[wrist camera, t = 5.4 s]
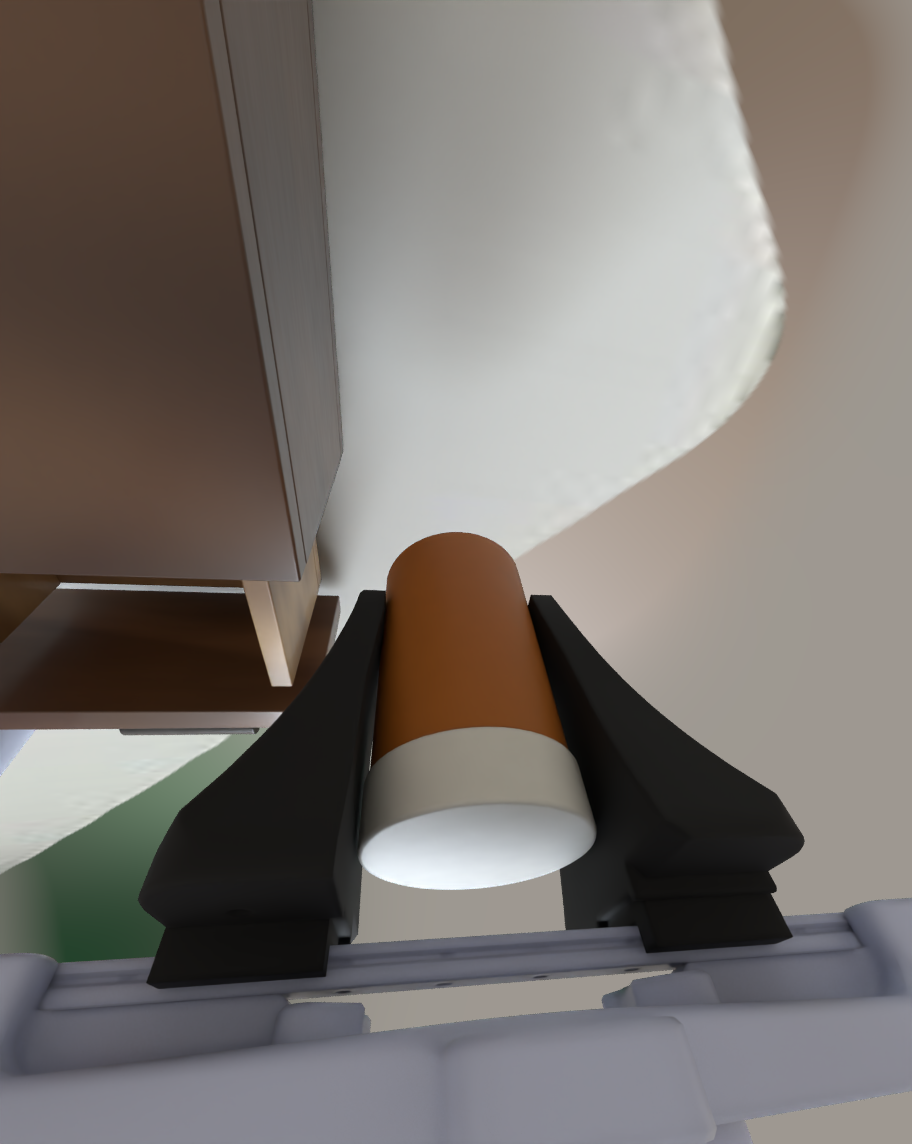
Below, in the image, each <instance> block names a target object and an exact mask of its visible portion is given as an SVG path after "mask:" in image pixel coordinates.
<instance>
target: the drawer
mask: <svg viewBox="0 0 912 1144" xmlns="http://www.w3.org/2000/svg"><path fill="white" fill-rule="evenodd" d="M320 582H321V573H320V566H319V558H318V550H317V542H316V537H315V540H314V543H313V546H312V549H311V553H310V556H309V559H308V562H307V564H306V566H305V569H304V572H303V575H302V579H301V581H299V582H283V581H249V580H216V579H182V578H148V577H114V576H81V575H47V574H13V573H0V730H31V729H119V730H120V732H121V734H123V735H199V734H256V733H257V732H258V731H259V728H260V727H261V728H263V727H264V728H265V727H270V726H271V725H272V724H273V723H274V722H275V721H276V720H277V718H278V717H279V716H280V715H281V714H282V713H283V712H284V710H285V709H286V708H287V707H288V706H289V705H290V704H291V702H292V701H293V700H294V699H295V698H296V696H297V695H298V694H299V693H300V691H301V690H302V689H303V688H304V686H305V685H306V684H307V682H308V681H309V680H310V678H311V677H312V676H313V674H314V673H315V672H316V670H317V669H318V667H319V666H320V664H321V663H322V661H323V660H324V658H325V657H326V656H327V654H328V653H329V651H330V650H331V648H332V646H333V645H334V642H335V637H336V632H337V627H338V622H339V617H340V602H339V596H321V595H317V594H318V589H319V586H320ZM60 583H95V584H131V585H167V586H203V587H239V588H244V592H245V593H207V592H169V591H131V590H93V589H56V588H57V587H58V586H59V585H60Z"/></svg>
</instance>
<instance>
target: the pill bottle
mask: <svg viewBox="0 0 912 1144" xmlns="http://www.w3.org/2000/svg"><path fill="white" fill-rule="evenodd" d="M596 833H597V831H596V824H595V820H594V817H593V814H592V810H591V807H590V803H589V800H588V797H587V793H586V790H585V786H584V783H583V780H582V776H581V773H580V769H579V766H578V763H577V761H576V759H575V758H574V756H573V755H572V754H571V752H570V751H569V749H568V746H567V742H566V739H565V735H564V732H563V728H562V725H561V721H560V718H559V714H558V711H557V707H556V704H555V700H554V697H553V693H552V690H551V686H550V682H549V679H548V675H547V672H546V668H545V665H544V661H543V658H542V654H541V651H540V647H539V644H538V640H537V637H536V633H535V630H534V626H533V623H532V619H531V616H530V612H529V609H528V605H527V601H526V598H525V595H524V591H523V587H522V584H521V580H520V577H519V574H518V570H517V567H516V564H515V562H514V561H513V559H512V557H511V556H510V555H509V554H508V552H507V551H506V550H505V549H503V548H502V547H501V546H500V545H498V544H497V543H495V542H494V541H492V540H490V539H488V538H485V537H482V536H479V535H476V534H471V533H463V532H449V533H441V534H437V535H432V536H429V537H427V538H424V539H422V540H420V541H418V542H415V543H414V544H412V545H411V546H409V547H408V548H407V549H406V550H404V551H403V552H402V553H401V554H400V555H399V556H398V558H397V559H396V560H395V562H394V563H393V565H392V566H391V569H390V571H389V574H388V578H387V587H386V608H385V620H384V631H383V638H382V645H381V655H380V666H379V677H378V688H377V700H376V711H375V722H374V733H373V744H372V756H371V767H370V771H369V772H368V774H367V776H366V779H365V781H364V787H363V797H362V807H361V817H360V828H359V838H358V848H357V854H358V858H359V861H360V863H361V865H362V866H363V867H364V868H365V869H366V870H367V871H368V872H370V873H371V874H373V875H374V876H376V877H378V878H381V879H383V880H386V881H389V882H392V883H396V884H400V885H404V886H409V887H416V888H425V889H441V890H442V889H443V890H455V889H456V890H458V889H476V888H485V887H494V886H501V885H506V884H512V883H517V882H521V881H525V880H529V879H533V878H536V877H539V876H542V875H545V874H548V873H551V872H553V871H555V870H558V869H561V868H563V867H565V866H567V865H569V864H570V863H572V862H574V861H575V860H577V859H579V858H580V857H581V856H583V855H584V854H585V853H586V852H587V851H588V850H589V849H590V848H591V847H592V845H593V844H594V842H595V839H596Z"/></svg>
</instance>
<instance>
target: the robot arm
mask: <svg viewBox="0 0 912 1144" xmlns="http://www.w3.org/2000/svg"><path fill="white" fill-rule="evenodd" d="M385 608H386V591H379V590H363V591H362V592H361V593H360V594H359V597H358V600H357V602H356V604H355V607H354V609H353V611H352V613H351V615H350V617H349V619H348V621H347V622H346V624H345V626H344V628H343V630H342V631H341V633H340V635H339V636H338V638H337V640H336V641H335V643H334V645H333V646H332V648H331V650H330V651H329V653H328V654H327V656H326V657H325V658H324V660H323V661H322V663H321V664H320V666H319V667H318V669H317V670H316V672H315V673H314V674H313V676H312V677H311V678H310V680H309V681H308V682H307V684H306V685H305V686H304V688H303V689H302V690H301V691H300V693H299V694H298V695H297V696H296V698H295V699H294V700H293V701H292V702H291V704H290V705H289V706H288V707H287V708H286V709H285V710H284V712H283V713H282V714H281V715H280V716H279V717H278V718H277V720H276V721H275V722H274V723H273V724H272V725H271V726H270V727H269V728H268V729H267V730H266V732H265V733H264V734H263V735H262V736H261V737H260V738H259V739H258V740H257V741H256V742H255V743H254V744H253V745H252V746H251V747H250V748H249V749H247V751H245V752H244V754H242V756H240V757H239V758H238V759H237V760H236V761H235V762H234V763H233V764H232V765H231V766H230V767H229V768H228V769H227V770H226V771H225V772H224V773H223V774H221V775H220V776H219V777H218V778H217V779H216V780H215V781H213V782H212V783H211V784H210V785H209V786H208V787H206V788H205V789H204V790H203V791H202V792H201V793H199V794H198V795H197V796H196V797H195V798H194V799H192V800H191V801H190V802H189V803H188V804H187V805H185V807H183V808H182V809H181V810H180V811H179V813H178V814H177V816H176V818H175V819H174V821H173V823H172V824H171V826H170V828H169V830H168V831H167V834H166V835H165V837H164V839H163V841H162V843H161V844H160V846H159V848H158V850H157V852H156V855H155V857H154V859H153V862H152V864H151V867H150V869H149V871H148V874H147V876H146V879H145V881H144V884H143V886H142V889H141V891H140V894H139V898H138V901H139V903H140V905H141V906H142V908H143V909H144V910H145V911H146V912H147V913H149V914H150V915H151V916H152V917H154V918H155V919H156V920H158V921H159V922H160V923H162V924H163V925H164V926H165V927H166V929H165V932H164V934H163V937H162V940H161V942H160V946H159V948H158V951H157V954H156V956H155V957H148V958H132V959H116V960H101V961H85V962H71V963H57V961H56V960H55V959H53V958H51V957H49V956H46V955H42V954H34V953H13V954H0V1144H753V1142H752V1139H751V1136H750V1134H749V1131H748V1128H747V1125H746V1123H745V1120H748V1119H753V1118H759V1117H765V1116H771V1115H776V1114H782V1113H787V1112H794V1111H799V1110H805V1109H811V1108H816V1107H821V1106H828V1105H834V1104H839V1103H845V1102H851V1101H857V1100H862V1099H868V1098H874V1097H880V1096H886V1095H891V1094H897V1093H903V1092H909V1091H912V898H902V899H886V900H874V901H868V902H864V903H860V904H857V905H854V906H852V907H850V908H847V909H846V910H845V911H844V912H841V913H826V914H810V915H795V916H782V914H781V912H780V911H779V908H778V907H777V905H776V903H775V901H774V899H773V897H772V895H771V893H774V892H776V891H777V888H776V885H775V883H774V881H773V879H772V877H771V876H770V874H769V872H768V871H769V870H771V869H772V868H774V867H776V866H777V865H779V864H781V863H783V862H784V861H786V860H788V859H789V858H791V857H792V856H794V855H795V854H797V853H798V852H799V851H800V850H801V848H802V847H803V845H804V837H803V835H802V833H801V832H800V830H799V829H798V827H797V826H796V824H795V822H794V821H793V819H792V818H791V816H790V814H789V813H788V811H787V810H786V808H785V806H784V805H783V803H782V802H781V800H780V799H779V797H778V796H777V794H775V793H774V792H773V791H771V790H769V789H768V788H766V787H764V786H763V785H762V784H760V783H758V782H757V781H755V780H753V779H752V778H750V777H748V776H747V775H745V774H744V773H742V772H741V771H739V770H737V769H736V768H734V767H733V766H731V765H730V764H728V763H727V762H725V761H724V760H722V759H721V758H719V757H718V756H717V755H715V754H714V753H712V752H711V751H709V750H708V749H707V748H705V747H704V746H702V745H701V744H699V743H698V742H697V741H695V740H694V739H693V738H691V737H690V736H689V735H687V734H686V733H685V732H683V731H682V730H681V729H680V728H678V727H677V726H676V725H674V724H673V723H672V722H671V721H670V720H668V719H667V718H666V717H665V716H663V715H662V714H661V713H660V712H659V711H657V710H656V709H655V708H654V707H653V706H651V705H650V704H649V703H648V702H647V701H646V700H645V699H644V698H643V697H641V695H639V694H638V693H637V692H636V691H635V690H634V689H633V688H632V687H631V686H630V685H629V684H628V683H627V682H625V681H624V680H623V679H622V678H621V677H620V675H618V673H617V672H616V671H615V670H614V669H613V668H612V667H611V666H610V665H609V664H608V663H607V662H606V661H605V660H604V659H603V658H602V657H601V655H600V654H599V653H598V652H597V651H596V650H595V649H594V647H593V646H592V645H591V644H590V643H589V642H588V640H587V639H586V638H585V637H584V636H583V635H582V633H581V632H580V631H579V630H578V628H577V627H576V626H575V625H574V624H573V622H572V621H571V620H570V618H569V617H568V616H567V615H566V613H565V612H564V611H563V610H562V609H561V607H560V606H559V605H558V603H557V602H556V601H555V600H554V598H553V597H552V596H551V595H531V597H530V600H529V604H528V609H529V612H530V616H531V619H532V623H533V626H534V630H535V633H536V637H537V640H538V644H539V647H540V651H541V654H542V658H543V661H544V665H545V668H546V672H547V675H548V679H549V682H550V686H551V690H552V693H553V697H554V700H555V704H556V707H557V711H558V714H559V718H560V721H561V725H562V728H563V732H564V735H565V739H566V742H567V746H568V749H569V751H570V752H571V754H572V755H573V756H574V758H575V759H576V761H577V763H578V766H579V769H580V773H581V776H582V780H583V783H584V786H585V790H586V793H587V797H588V800H589V803H590V807H591V810H592V814H593V817H594V820H595V824H596V831H597V833H596V839H595V842H594V844H593V845H592V847H591V848H590V849H589V850H588V851H587V852H586V853H585V854H584V855H583V856H581V857H580V858H579V859H577V860H575V861H574V862H572V863H570V864H569V865H567V866H565V867H563V868H561V869H560V876H561V886H562V895H563V905H564V916H565V928H566V930H564V931H548V932H533V933H517V934H503V935H487V936H472V937H456V938H440V939H425V940H409V941H394V942H379V943H363V944H351V942H352V941H353V940H354V939H355V937H356V936H357V935H358V924H359V909H360V893H361V878H362V865H361V863H360V861H359V858H358V854H357V848H358V838H359V828H360V817H361V807H362V797H363V787H364V781H365V779H366V776H367V774H368V772H369V766H370V756H371V748H372V741H373V733H374V722H375V711H376V700H377V688H378V677H379V666H380V655H381V645H382V638H383V631H384V620H385ZM35 730H36V729H31V730H0V776H1V775H2V774H3V772H4V771H5V770H6V768H7V767H8V766H9V764H10V763H11V762H12V760H13V759H14V758H15V756H16V755H17V754H18V752H19V751H20V750H21V748H22V747H23V746H24V744H25V743H26V742H27V740H28V739H29V738H30V736H31V735H32V734H33V732H34V731H35ZM664 970H673V972H672V973H671V974H665V975H659V976H653V977H648V978H642V979H636V980H633V981H632V983H631V984H630V985H629V986H627V987H625V988H623V989H621V990H618V991H615V992H612V993H609V994H606V995H604V996H603V998H602V1003H603V1007H604V1009H591V1010H577V1011H564V1012H552V1013H541V1014H530V1015H519V1016H509V1017H499V1018H489V1019H480V1020H472V1021H463V1022H454V1023H446V1024H438V1025H430V1026H422V1027H414V1028H406V1029H397V1030H390V1031H381V1032H373V1033H370V1026H371V1020H370V1018H369V1017H368V1016H367V1015H364V1013H365V1012H364V1011H365V1008H364V1006H363V1005H362V1003H332V1002H327V1003H326V1002H306V1003H296V1004H291V1003H290V1002H289V1001H288V1000H293V999H306V998H318V997H331V996H344V995H357V994H370V993H383V992H395V991H408V990H420V989H433V988H446V987H459V986H471V985H485V984H498V983H510V982H523V981H536V980H549V979H560V978H574V977H587V976H600V975H613V974H625V973H638V972H651V971H664Z"/></svg>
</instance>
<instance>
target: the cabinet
mask: <svg viewBox="0 0 912 1144" xmlns="http://www.w3.org/2000/svg"><path fill="white" fill-rule="evenodd" d="M342 453H343V439H342V424H341V410H340V396H339V382H338V367H337V353H336V339H335V324H334V310H333V296H332V281H331V267H330V253H329V238H328V224H327V210H326V195H325V181H324V167H323V152H322V138H321V124H320V109H319V95H318V81H317V66H316V52H315V38H314V24H313V9H312V0H0V573H13V574H47V575H81V576H114V577H148V578H182V579H216V580H249V581H283V582H299V581H301V579H302V575H303V572H304V569H305V566H306V564H307V562H308V559H309V556H310V553H311V549H312V546H313V543H314V540H315V537H316V534H317V531H318V528H319V525H320V522H321V519H322V516H323V513H324V510H325V507H326V504H327V500H328V497H329V494H330V491H331V488H332V485H333V482H334V479H335V476H336V473H337V470H338V467H339V464H340V461H341V457H342Z"/></svg>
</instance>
